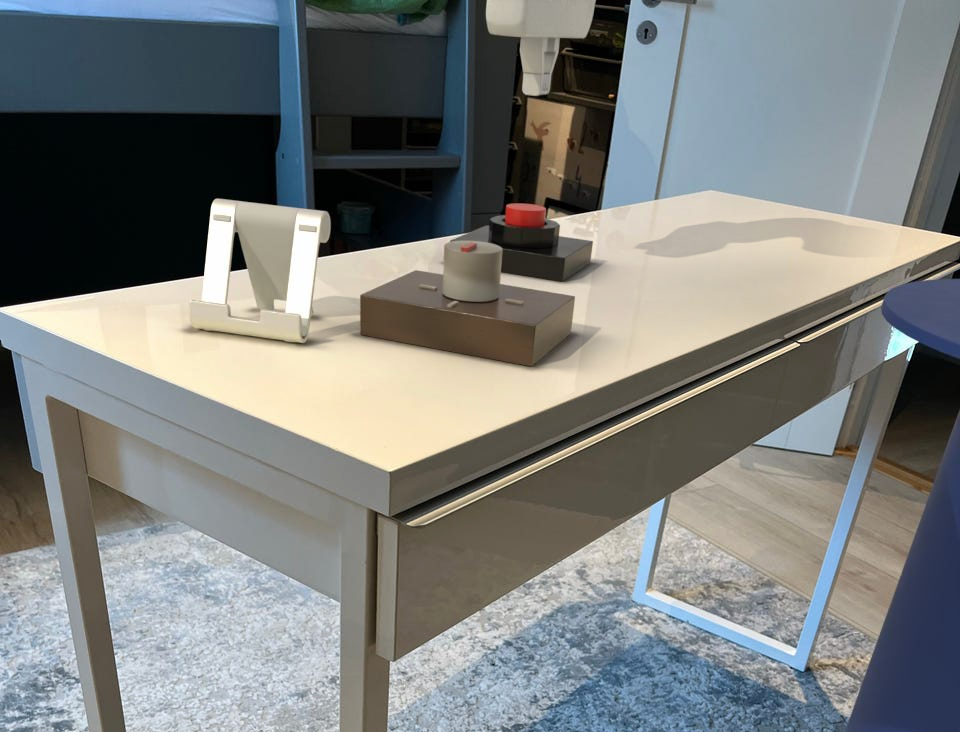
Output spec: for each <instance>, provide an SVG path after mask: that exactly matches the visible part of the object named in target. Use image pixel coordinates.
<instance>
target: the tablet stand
mask: <svg viewBox="0 0 960 732" xmlns="http://www.w3.org/2000/svg"><path fill="white" fill-rule="evenodd" d="M209 215H210V216H209V225H208V234H207V245H206V252H205V253H206V254H205V263H204V275H203V281H202V284H203V285H202V294H201V300H198V299H190V300H189V302H188V307H189V308H188V311H189V312H188V313H189V315H188V316H189V321H190V325H191V327H193V328H194V329H200V330H204V331H209V332H222V333H227V334H229V333H230V334H234V335H235V334H236V335H242V336H250V337H256V338H257V337H258V338H264V339H272V340H279V341H284V342H287V343H300V344H304V343H306V342H307V340H308V338H309V334H310V327H311V326H310V325H311V317H313V316H314V312H315V311H314V308H313V299H314V294H315V293H314V292H315V284H316V275H317V268H318V267H317V266H318V259H319V258H318V257H319V252H320V251H319V250H320V245H321V243H323V244H325V243H327V242H328V241H329V238H330V235H331V229H332V228H331V225H332V223H331V222H332V221H331V216H330V214H329V212H328V211H326V210H320V209H319V210H318V209H310V208H309V209H308V208H300V207H294V206H293V207H292V206H284V205H274V204H268V203H258V202H252V201H251V202H250V201H249V202H248V201H242V200H233V199H225V198H215V199H214V200H213V201H212V203H211V207H210V214H209ZM235 233H237V234H238V238H239V241H240V246H241V250H242V253H243V257H244V262H245V264H246V269H247V273H248V277H249V280H250V285H251V288H252V292H253V295H254V300H255V304H256V307H257V308H258V310H260V311H259V318H251V317H244V316H236V315H232V311H231V306H230V305H229V304H228V296H229V288H230V287H229V285H230V277H231V270H232V269H231V267H232V258H233V248H234V241H235V240H234V239H235ZM276 300H278V301H284V302H285V301H286V302H285V311H279V310H275V301H276Z"/></svg>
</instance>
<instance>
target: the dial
mask: <svg viewBox="0 0 960 732" xmlns="http://www.w3.org/2000/svg"><path fill="white" fill-rule="evenodd" d="M502 252H503V249H502V248H501V247H500V246H498V245H495V244H491V243H486V242H480V241H452V242H450V241H449V242H446V243H445V244H444V246H443V266H442V268H443V269H442V275H443V289H442V293H443V294H444V295H445V296H447V297H449V298H452V299H456V300H461V301H468V302H486V301H492V300H496V299H497V298H498V297H499V291H500V284H501V279H502V277H501V275H502V272H501V265H502Z"/></svg>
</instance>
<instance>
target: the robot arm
mask: <svg viewBox="0 0 960 732" xmlns="http://www.w3.org/2000/svg"><path fill="white" fill-rule="evenodd" d="M596 2H597V0H486V6H485V21H486V26H487V27H486V28H487V31H488V33H489V34H490V35H492V36H503V37H514V38H520V43H519V44H520V45H519V55H520V60H521V61H520V62H521V67H522V68H521V69H522V74H523V75H522V85H521V86H522V88H521V91H522V93H523V94H524V95H525V96H533V97H539V96H545V95H549V93H550V91H551V82H552V74H553V71H554V68H555V66H556V65H555V64H556V61H557V59H558V55H559V50H560V41H561V40H560V39H585V38H586V37H587V35H588V33H589V30H590V28H591V25H592V21H593V18H594V12H595V6H596Z"/></svg>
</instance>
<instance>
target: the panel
mask: <svg viewBox="0 0 960 732" xmlns="http://www.w3.org/2000/svg"><path fill="white" fill-rule="evenodd" d="M442 289H443V273H435V272H429V271H423V270H417V269H415V270H413V271H411V272H408V273H406V274H404V275H402V276H399V277H397V278H394V279H393V280H390V281H388V282H386V283H384V284H381V285H379V286H377V287H375V288H373V289H369V290H368V291H366V292H364V293H361V294H360V295H359V315H360V317H359V324H360V325H359V332H360V335H362V336H366V337H372V338H376V339H383V340H387V341H393V342H399V343H402V344H403V343H405V344H410V345H415V346H420V347H425V348H431V349H436V350H442V351H446V352H447V351H448V352H452V353H457V354H462V355H463V354H464V355H468V356H474V357H478V358H484V359H490V360H496V361H501V362H505V363H509V364H510V363H511V364H516V365H523V366H527V367H533V366H534V365H535V364H536V363H537V362H538V361H540V360H541V359H542V358H543V357H544V356H546V355H547V354H549V352H551V351H552V350H553V349H554V348H555V347H557V346H558V345H559V344H561V342H562V341H564V340H565V339H566V338H568V337H569V336H570V335H571V334H572V327H573V319H574V318H573V317H574V311H575V300H576V296H575V295H569V294H564V293H558V292H557V293H556V292H553V291H552V292H551V291H545V290H539V289H533V288H527V287H520V286H516V285H509V284H503V283H500V291H499V297H498V298H497V299H496V300H492V301H486V302H468V301H461V300H456V299H452V298H449V297H447V296H445V295H444V294H443V293H442Z"/></svg>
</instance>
